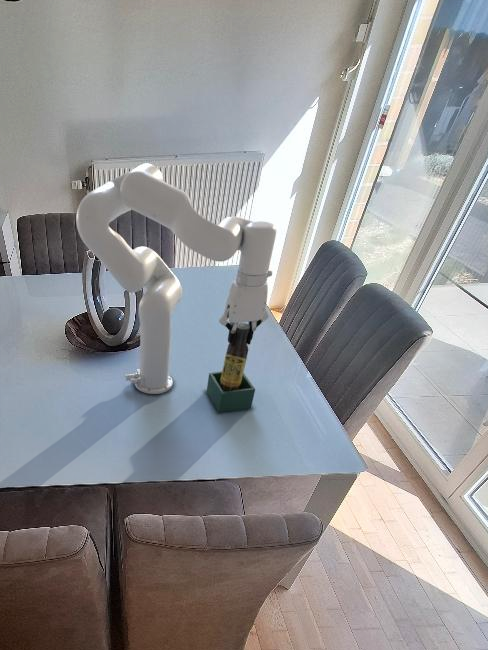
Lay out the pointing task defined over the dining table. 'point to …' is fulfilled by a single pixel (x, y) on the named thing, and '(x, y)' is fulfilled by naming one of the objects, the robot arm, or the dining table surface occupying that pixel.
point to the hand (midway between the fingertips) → (239, 342)
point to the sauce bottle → (235, 360)
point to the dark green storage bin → (230, 394)
